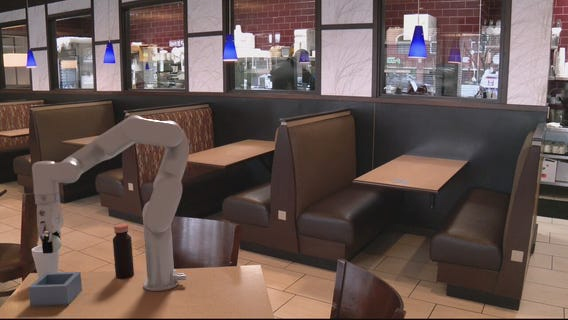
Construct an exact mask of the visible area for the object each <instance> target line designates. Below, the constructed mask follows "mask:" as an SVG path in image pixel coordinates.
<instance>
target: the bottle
mask: <svg viewBox="0 0 568 320" xmlns="http://www.w3.org/2000/svg"><path fill="white" fill-rule="evenodd" d="M113 230H114V234H115V236H114V237H113V238H112V248H113V259H114V270H115V271H114V272H115V278H116V279H119V280H124V279H125V280H127V279H130V278H132V277H133V276H134V275H135V268H134V256H133V242H132V236H131V235H130V234H129V233H128V232H129V225H128V224H127V223H118V224H115V225H114V226H113Z"/></svg>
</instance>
